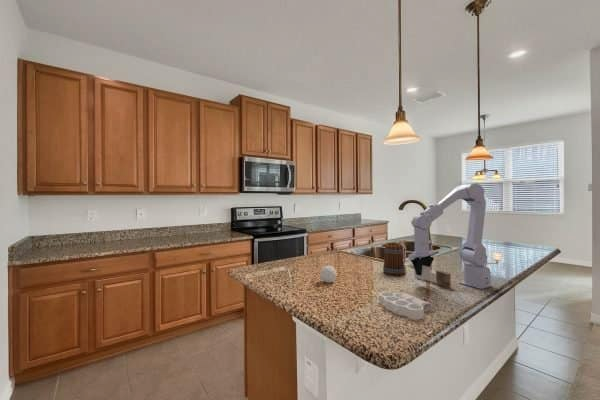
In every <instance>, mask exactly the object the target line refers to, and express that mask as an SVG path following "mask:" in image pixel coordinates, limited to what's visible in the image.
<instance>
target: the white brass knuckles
mask: <svg viewBox="0 0 600 400" xmlns="http://www.w3.org/2000/svg"><path fill="white" fill-rule="evenodd" d="M378 303H379V305H381V306H382V307H383V308H384V307H385V308H384V309H386V310H388V311H390V312H392V313H393V314H395V315H397V316H398V315H399V316H403V317H407V318H409V319H411V320H422V319H424V318H425V317H424V316H425V312H429V311H430V310H431V309H432V308H433V304H432V303H430V302H428V301H425V300H422V299H420V298H418V297H416V296H413V295H410V294H407V293H406V292H398V293H397V292H388V291H383V292H379V294H378Z"/></svg>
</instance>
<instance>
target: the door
mask: <svg viewBox="0 0 600 400" xmlns="http://www.w3.org/2000/svg"><path fill="white" fill-rule="evenodd" d="M430 277H431V279H427V281H430V282H433V283H436V271H431V270H430Z"/></svg>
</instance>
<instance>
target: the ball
mask: <svg viewBox="0 0 600 400" xmlns="http://www.w3.org/2000/svg"><path fill="white" fill-rule="evenodd" d="M319 275H320V279H321V280H322V281H323V282H324V283H327V284H329V283H333V282H335V280H336V279H337V277H338V273H337V270H336V269H335V267H334V266H331V265H326V266H322V268H321V270H320V272H319Z"/></svg>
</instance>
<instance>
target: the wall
mask: <svg viewBox="0 0 600 400" xmlns="http://www.w3.org/2000/svg"><path fill="white" fill-rule="evenodd" d="M435 273H436V282H435V283H436V286H439V287H442V288H445V289H451V283H452V282H451V275H452V273H450V272H446V271H442V270H440V269H439V270H435Z"/></svg>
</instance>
